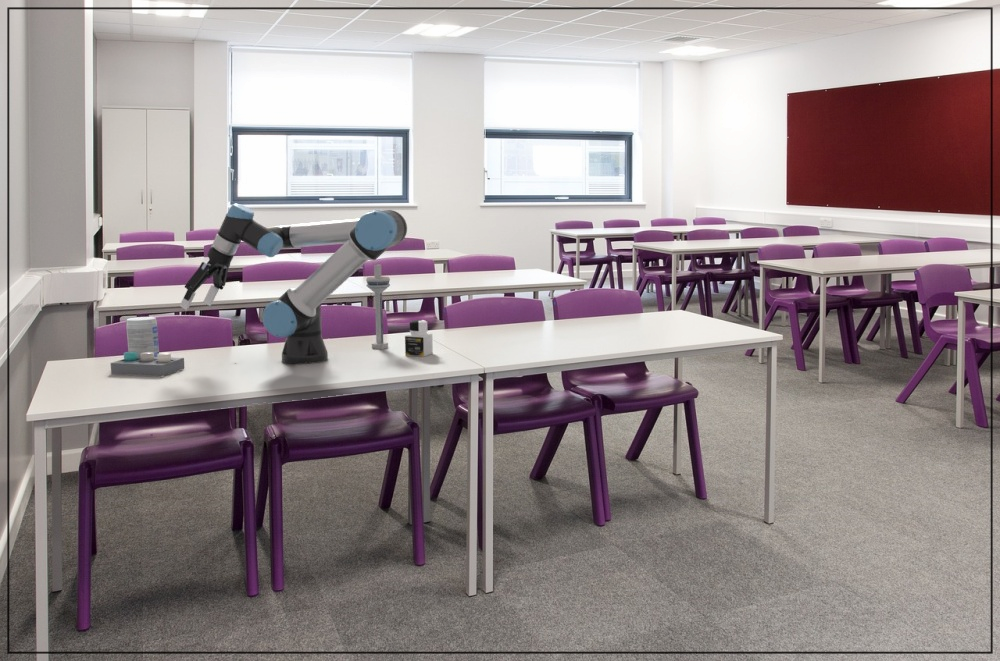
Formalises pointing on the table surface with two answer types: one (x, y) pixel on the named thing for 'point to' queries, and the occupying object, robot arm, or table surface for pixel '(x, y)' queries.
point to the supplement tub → (142, 335)
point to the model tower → (378, 303)
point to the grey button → (147, 357)
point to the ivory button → (164, 357)
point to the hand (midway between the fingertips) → (195, 306)
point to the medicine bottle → (418, 340)
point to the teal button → (130, 356)
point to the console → (147, 367)
